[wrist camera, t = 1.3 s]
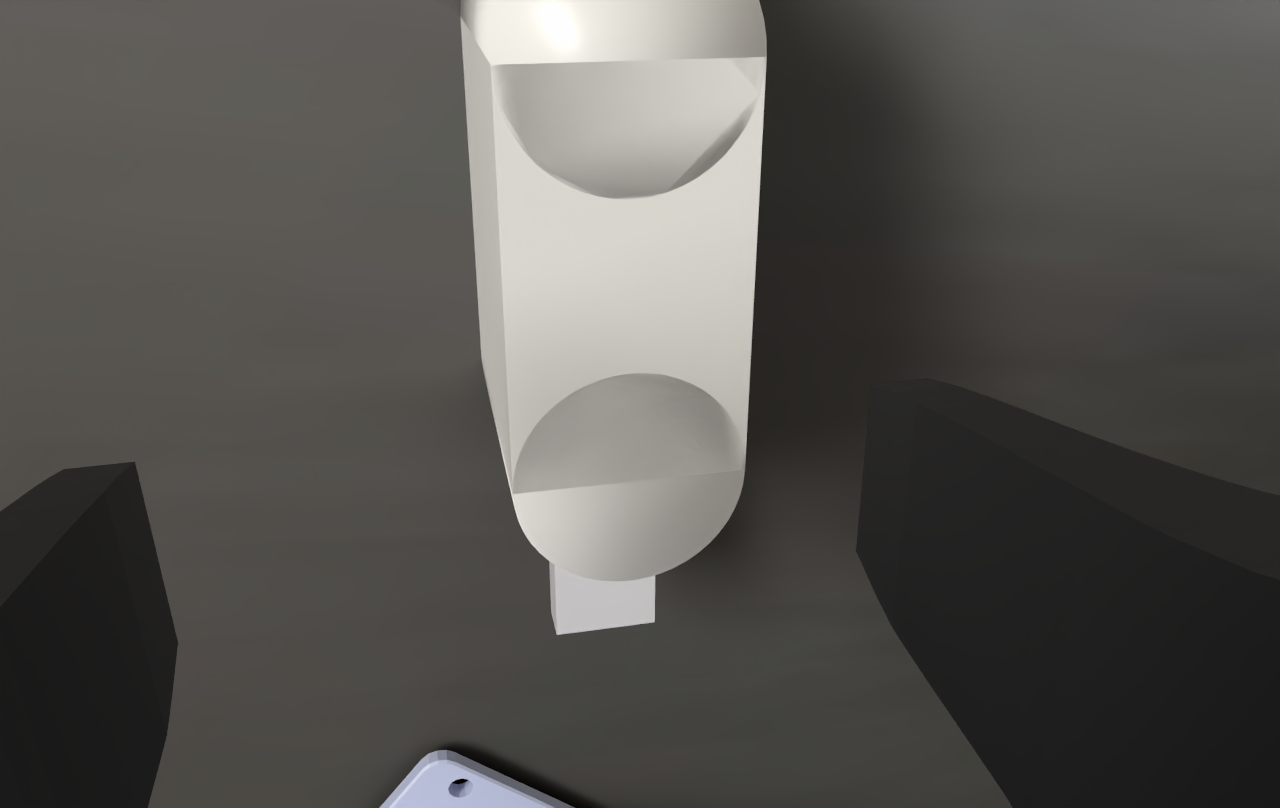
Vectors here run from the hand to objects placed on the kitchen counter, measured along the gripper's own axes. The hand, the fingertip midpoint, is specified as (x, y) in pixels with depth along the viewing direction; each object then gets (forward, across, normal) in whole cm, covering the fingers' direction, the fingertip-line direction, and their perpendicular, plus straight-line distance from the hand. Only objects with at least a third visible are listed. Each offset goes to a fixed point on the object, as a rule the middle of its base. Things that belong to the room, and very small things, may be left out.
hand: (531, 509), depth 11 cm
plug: (+10, -2, 0) cm, 10 cm away
